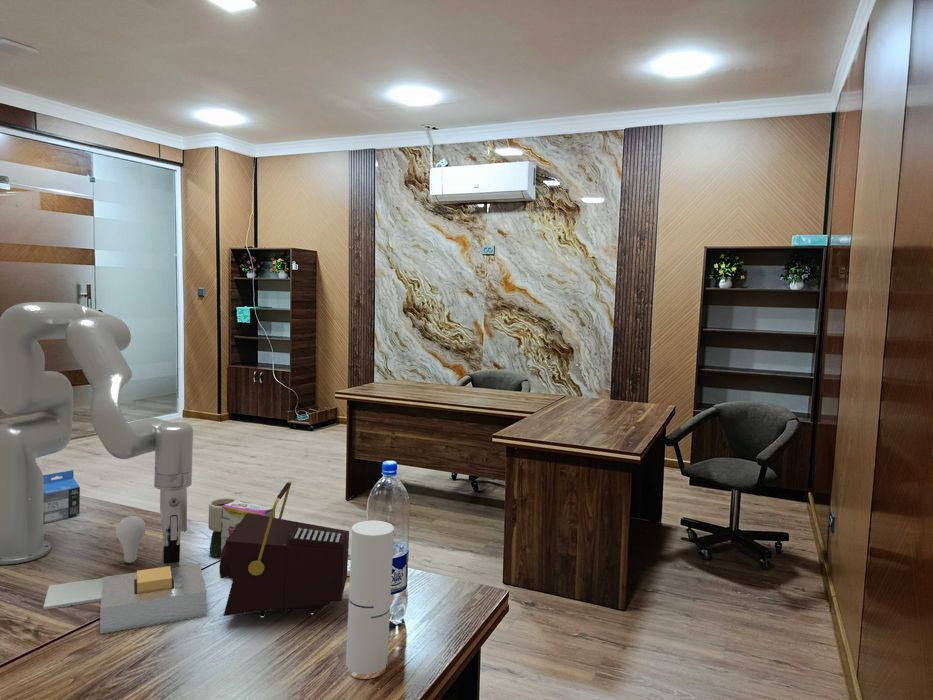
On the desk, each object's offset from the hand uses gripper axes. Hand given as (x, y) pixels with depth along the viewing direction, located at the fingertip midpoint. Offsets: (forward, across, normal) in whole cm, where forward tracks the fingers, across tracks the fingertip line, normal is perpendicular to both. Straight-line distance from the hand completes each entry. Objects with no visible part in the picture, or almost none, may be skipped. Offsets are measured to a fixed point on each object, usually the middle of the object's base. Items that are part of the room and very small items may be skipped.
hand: (171, 558), depth 138 cm
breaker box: (+4, -15, +4) cm, 16 cm away
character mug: (+4, +8, -12) cm, 15 cm away
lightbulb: (+4, +10, +8) cm, 13 cm away
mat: (+4, -3, +18) cm, 19 cm away
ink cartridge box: (+4, +48, +25) cm, 54 cm away
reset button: (0, -15, +4) cm, 16 cm away
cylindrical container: (+4, -51, -28) cm, 58 cm away
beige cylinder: (+4, 0, 0) cm, 4 cm away
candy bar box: (+4, -7, -15) cm, 17 cm away
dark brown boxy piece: (+4, -25, -20) cm, 32 cm away
